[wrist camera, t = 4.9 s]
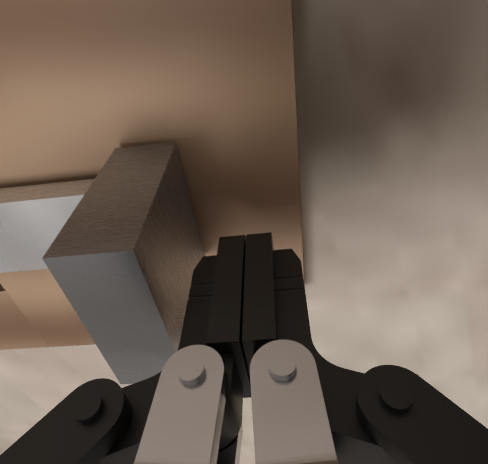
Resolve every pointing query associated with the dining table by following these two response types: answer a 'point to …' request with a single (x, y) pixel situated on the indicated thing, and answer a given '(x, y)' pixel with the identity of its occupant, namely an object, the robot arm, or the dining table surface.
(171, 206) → the sled
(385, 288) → the dining table surface
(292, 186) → the deck
